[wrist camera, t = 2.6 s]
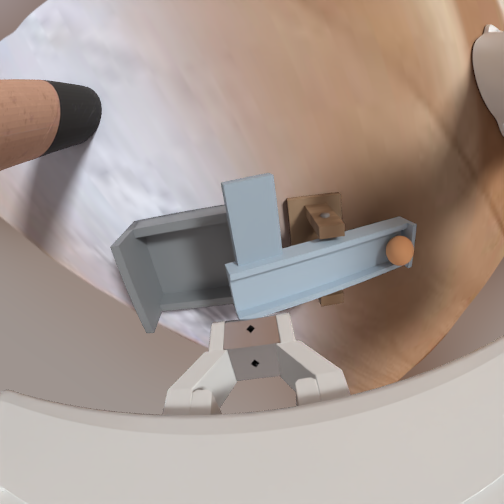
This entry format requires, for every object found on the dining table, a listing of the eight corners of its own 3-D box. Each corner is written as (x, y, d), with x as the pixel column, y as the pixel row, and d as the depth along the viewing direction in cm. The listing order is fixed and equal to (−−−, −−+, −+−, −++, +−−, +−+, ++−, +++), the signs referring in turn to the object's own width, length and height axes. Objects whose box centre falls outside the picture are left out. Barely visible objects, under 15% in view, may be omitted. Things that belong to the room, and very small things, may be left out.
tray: (234, 203, 30) (231, 226, 24) (249, 287, 35) (250, 323, 29) (134, 221, 31) (110, 247, 24) (160, 298, 36) (146, 333, 29)
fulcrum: (338, 192, 30) (363, 212, 23) (339, 271, 34) (358, 305, 28) (286, 198, 30) (298, 221, 24) (294, 278, 35) (304, 315, 28)
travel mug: (80, 158, 27) (-52, 220, 9) (45, 124, 24) (-84, 160, 6) (116, 106, 25) (-29, 115, 7) (77, 73, 22) (-59, 66, 4)
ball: (402, 228, 27) (421, 239, 25) (400, 254, 29) (417, 266, 26) (380, 234, 27) (399, 246, 24) (379, 260, 29) (396, 274, 26)
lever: (400, 154, 25) (419, 159, 23) (396, 256, 30) (411, 266, 28) (208, 185, 21) (214, 192, 19) (235, 310, 27) (242, 328, 24)
